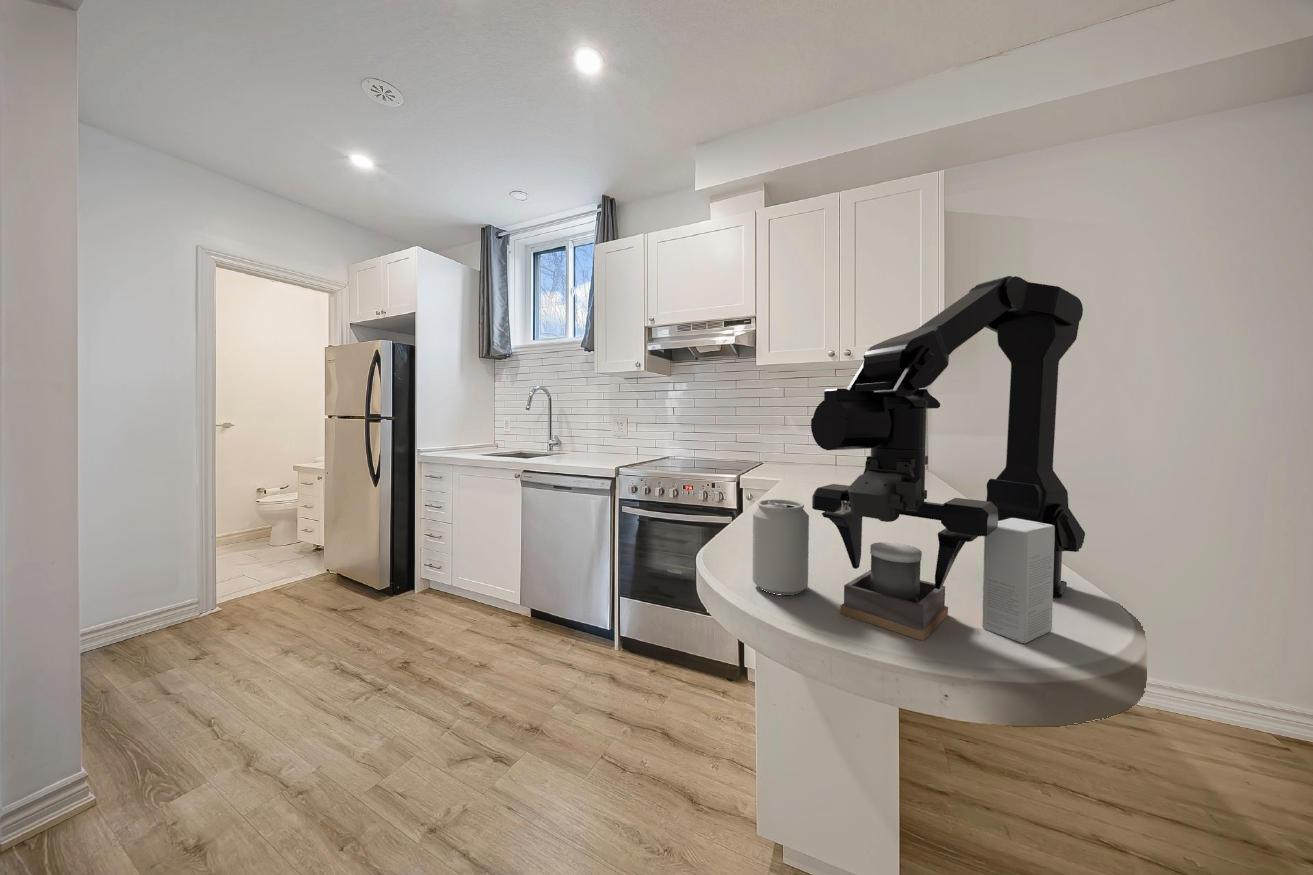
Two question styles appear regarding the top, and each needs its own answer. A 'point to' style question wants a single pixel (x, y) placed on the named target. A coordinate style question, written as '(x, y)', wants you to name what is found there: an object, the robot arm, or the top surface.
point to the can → (780, 546)
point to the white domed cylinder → (896, 570)
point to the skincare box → (1018, 579)
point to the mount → (895, 608)
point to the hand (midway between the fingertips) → (894, 577)
